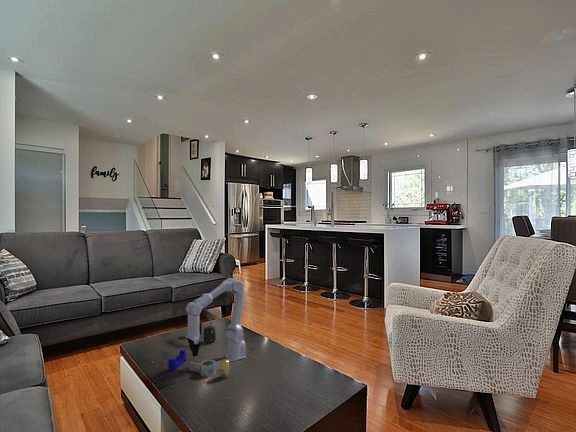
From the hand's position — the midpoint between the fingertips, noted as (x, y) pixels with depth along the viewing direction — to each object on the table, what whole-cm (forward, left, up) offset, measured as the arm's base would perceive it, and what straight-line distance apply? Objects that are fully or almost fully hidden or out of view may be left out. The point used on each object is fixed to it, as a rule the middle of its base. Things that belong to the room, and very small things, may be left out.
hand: (193, 353), depth 157 cm
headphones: (-17, -40, -10) cm, 45 cm away
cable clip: (+6, -12, -10) cm, 17 cm away
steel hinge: (-8, +2, -10) cm, 13 cm away
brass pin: (-12, +13, -10) cm, 20 cm away
